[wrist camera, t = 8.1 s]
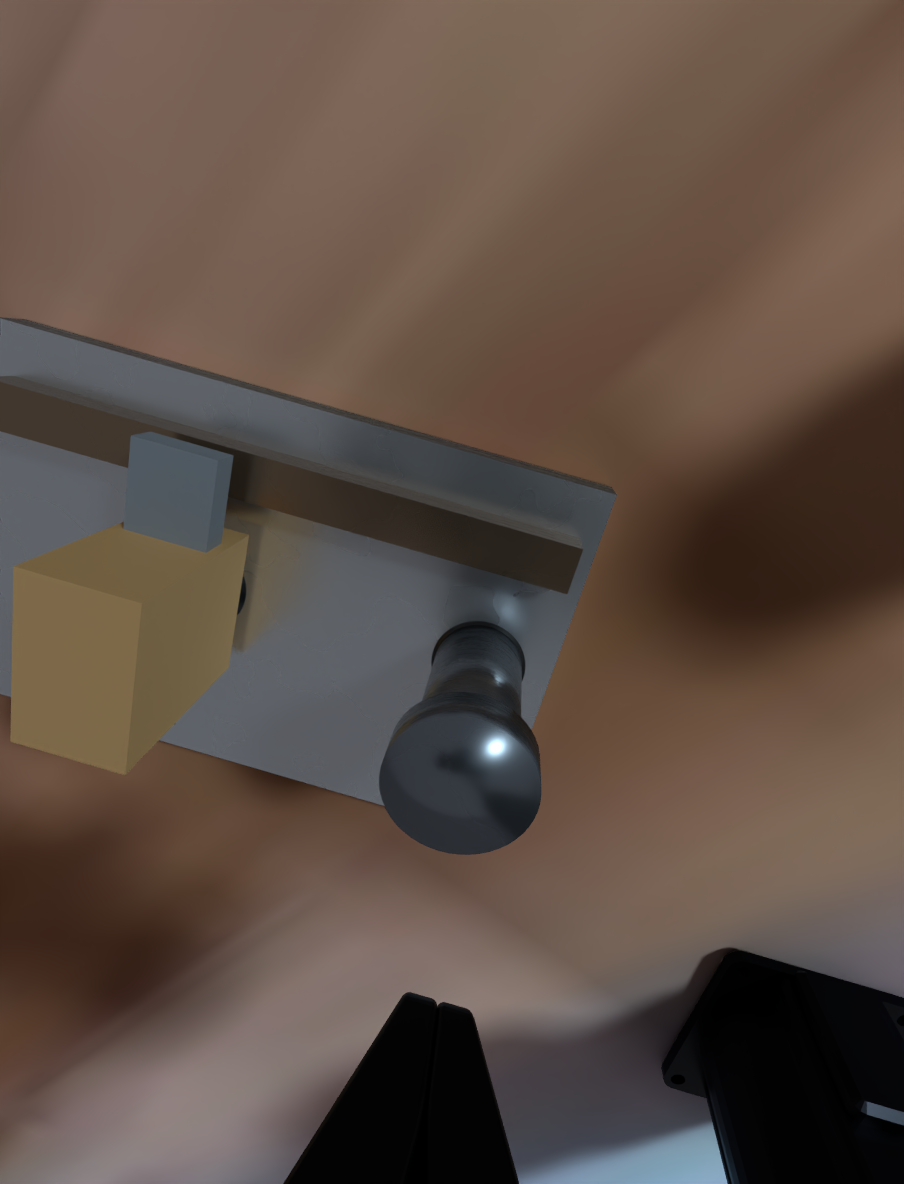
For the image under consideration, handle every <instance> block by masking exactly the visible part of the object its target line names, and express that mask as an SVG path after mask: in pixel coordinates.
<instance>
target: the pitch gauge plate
mask: <svg viewBox="0 0 904 1184" xmlns="http://www.w3.org/2000/svg"><path fill="white" fill-rule="evenodd" d="M146 432H154V433H157V434H161V435H164V436H168V437H171V438H175V439H178V440H182V441H185V442H189V443H192V444H196V445H199V446H203V447H206V448H210V449H213V450H217V451H220V452H224V453H227V454H231V455H234V456H233V463H232V470H231V478H230V485H229V492H228V499H227V506H226V513H225V520H224V528H227V529H230V530H234V531H237V532H241V533H244V534H248V535H249V540H248V546H247V553H246V559H245V566H244V572H243V578H242V585H241V591H240V598H239V604H238V611H237V617H236V623H235V630H234V636H233V643H232V649H231V656H230V662H229V668H228V669H227V670H226V671H225V672H224V673H223V674H222V675H221V676H220V677H219V678H218V679H217V680H216V681H215V682H214V683H213V684H212V685H211V686H210V688H209V689H208V690H207V691H206V692H205V693H204V694H203V695H202V696H201V697H200V698H199V699H198V700H197V701H196V702H195V703H194V704H193V705H192V706H191V707H190V708H189V709H188V710H187V711H186V712H185V714H184V715H183V716H182V717H181V718H180V719H179V720H178V721H177V722H176V723H175V724H174V725H173V726H172V727H171V728H170V729H169V730H168V731H167V732H166V733H165V734H164V735H163V736H162V737H161V738H160V741H163V742H167V743H170V744H174V745H177V746H181V747H184V748H188V749H191V750H194V751H198V752H201V753H205V754H208V755H212V756H215V757H218V758H222V759H225V760H229V761H232V762H236V763H239V764H242V765H246V766H249V767H253V768H256V769H260V770H263V771H266V772H270V773H273V774H277V775H280V776H284V777H287V778H290V779H294V780H297V781H301V782H304V783H308V784H311V785H314V786H318V787H321V788H325V789H328V790H332V791H335V792H338V793H342V794H345V795H349V796H352V797H356V798H359V799H363V800H366V801H369V802H373V803H376V804H380V805H383V806H385V808H386V810H387V812H388V814H389V815H390V817H391V818H392V820H393V821H394V822H395V823H396V825H397V826H398V827H399V828H400V829H401V830H402V831H403V832H405V833H406V834H407V835H409V836H410V837H411V838H413V839H414V840H416V841H418V842H419V843H421V844H423V845H425V846H427V847H430V848H432V849H435V850H438V851H442V852H446V853H452V854H465V855H470V854H480V853H486V852H490V851H493V850H496V849H499V848H501V847H503V846H506V845H508V844H509V843H511V842H512V841H514V840H516V839H517V838H518V837H519V836H520V835H522V834H523V833H524V832H525V831H526V830H527V828H528V827H529V826H530V824H531V823H532V822H533V820H534V818H535V816H536V814H537V812H538V809H539V805H540V800H541V770H540V753H539V747H538V744H537V741H536V738H535V736H534V734H533V732H532V730H531V729H532V727H533V724H534V721H535V719H536V716H537V713H538V710H539V708H540V705H541V702H542V699H543V697H544V694H545V691H546V688H547V686H548V683H549V680H550V677H551V675H552V672H553V669H554V666H555V664H556V661H557V658H558V655H559V653H560V650H561V647H562V644H563V642H564V639H565V636H566V633H567V631H568V628H569V625H570V622H571V620H572V617H573V614H574V611H575V609H576V606H577V603H578V600H579V598H580V595H581V592H582V589H583V587H584V584H585V581H586V578H587V576H588V573H589V570H590V567H591V565H592V562H593V559H594V556H595V554H596V551H597V548H598V545H599V543H600V540H601V537H602V534H603V532H604V529H605V526H606V523H607V521H608V518H609V515H610V512H611V510H612V507H613V504H614V501H615V499H616V496H617V494H616V493H615V491H614V490H613V488H612V487H609V486H605V485H602V484H598V483H595V482H591V481H588V480H584V479H581V478H577V477H574V476H570V475H567V474H563V473H560V472H556V471H553V470H550V469H546V468H543V467H539V466H536V465H532V464H529V463H525V462H522V461H518V460H515V459H511V458H508V457H504V456H501V455H497V454H494V453H490V452H487V451H483V450H480V449H476V448H473V447H469V446H466V445H462V444H459V443H455V442H452V441H448V440H445V439H441V438H438V437H434V436H431V435H427V434H424V433H420V432H417V431H413V430H410V429H406V428H403V427H399V426H396V425H392V424H389V423H385V422H382V421H378V420H375V419H371V418H368V417H364V416H361V415H357V414H354V413H350V412H347V411H343V410H340V409H336V408H333V407H329V406H326V405H322V404H319V403H315V402H312V401H308V400H305V399H301V398H298V397H294V396H291V395H287V394H284V393H280V392H277V391H273V390H270V389H266V388H263V387H259V386H256V385H252V384H249V383H245V382H242V381H239V380H235V379H232V378H228V377H225V376H221V375H218V374H214V373H211V372H207V371H204V370H200V369H197V368H193V367H190V366H186V365H183V364H179V363H176V362H172V361H169V360H165V359H162V358H158V357H155V356H151V355H148V354H144V353H141V352H137V351H134V350H130V349H127V348H123V347H120V346H116V345H113V344H109V343H106V342H102V341H99V340H95V339H92V338H88V337H85V336H81V335H78V334H74V333H71V332H67V331H64V330H60V329H57V328H53V327H50V326H46V325H43V324H39V323H36V322H32V321H29V320H25V319H16V318H3V317H0V694H2V695H6V696H9V697H11V681H12V621H13V566H15V565H18V564H20V563H23V562H25V561H28V560H30V559H33V558H35V557H38V556H40V555H43V554H45V553H47V552H50V551H52V550H55V549H57V548H60V547H62V546H65V545H67V544H70V543H72V542H75V541H77V540H80V539H82V538H85V537H87V536H90V535H92V534H95V533H97V532H99V531H102V530H104V529H107V528H109V527H112V526H114V525H117V524H119V523H122V522H124V514H125V501H126V489H127V477H128V464H129V452H130V439H131V435H135V434H141V433H146Z"/></svg>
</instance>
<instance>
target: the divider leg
mask: <svg viewBox="0 0 904 1184" xmlns="http://www.w3.org/2000/svg"><path fill="white" fill-rule="evenodd" d="M233 456H234V455H231V454H227V453H224V452H220V451H217V450H213V449H210V448H206V447H203V446H199V445H196V444H192V443H189V442H185V441H182V440H178V439H175V438H171V437H168V436H164V435H161V434H157V433H154V432H146V433H141V434H135V435H131V439H130V452H129V464H128V477H127V489H126V501H125V514H124V522H122V523H119V524H117V525H114V526H112V527H109V528H107V529H104V530H102V531H99V532H97V533H95V534H92V535H90V536H87V537H85V538H82V539H80V540H77V541H75V542H72V543H70V544H67V545H65V546H62V547H60V548H57V549H55V550H52V551H50V552H47V553H45V554H43V555H40V556H38V557H35V558H33V559H30V560H28V561H25V562H23V563H20V564H18V565H15V566H13V621H12V681H11V741H10V742H13V743H17V744H20V745H24V746H27V747H31V748H34V749H37V750H41V751H44V752H48V753H51V754H55V755H58V756H61V757H65V758H68V759H72V760H75V761H78V762H82V763H85V764H89V765H92V766H96V767H99V768H102V769H106V770H109V771H113V772H116V773H120V774H123V775H126V774H127V773H128V772H129V771H130V770H131V769H132V768H133V767H134V766H135V764H136V763H137V762H138V761H139V760H140V759H141V758H142V757H143V756H144V755H145V754H146V753H147V752H148V751H149V750H150V749H151V748H152V747H153V746H154V745H155V744H156V743H157V742H158V741H159V740H160V738H161V737H162V736H163V735H164V734H165V733H166V732H167V731H168V730H169V729H170V728H171V727H172V726H173V725H174V724H175V723H176V722H177V721H178V720H179V719H180V718H181V717H182V716H183V715H184V714H185V712H186V711H187V710H188V709H189V708H190V707H191V706H192V705H193V704H194V703H195V702H196V701H197V700H198V699H199V698H200V697H201V696H202V695H203V694H204V693H205V692H206V691H207V690H208V689H209V688H210V686H211V685H212V684H213V683H214V682H215V681H216V680H217V679H218V678H219V677H220V676H221V675H222V674H223V673H224V672H225V671H226V670H227V669H228V668H229V662H230V656H231V649H232V643H233V636H234V630H235V623H236V617H237V611H238V604H239V598H240V591H241V585H242V578H243V572H244V566H245V559H246V553H247V546H248V540H249V535H248V534H244V533H241V532H237V531H234V530H230V529H227V528H224V520H225V513H226V506H227V499H228V492H229V485H230V478H231V470H232V463H233Z"/></svg>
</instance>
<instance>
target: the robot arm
mask: <svg viewBox="0 0 904 1184" xmlns="http://www.w3.org/2000/svg"><path fill="white" fill-rule="evenodd" d="M740 967H741V968H740ZM661 1069H662V1074H663V1079H664V1082H665V1084H666V1085H667V1086H669V1087H671V1088H673V1089H677V1090H680V1091H683V1092H687V1093H690V1094H694V1095H697V1096H700V1097H704V1098H707V1102H708V1106H709V1110H710V1114H711V1118H712V1122H713V1126H714V1130H715V1134H716V1138H717V1142H718V1146H719V1150H720V1154H721V1159H722V1163H723V1167H724V1171H725V1175H726V1179H727V1183H728V1184H904V998H902V997H899V996H895V995H892V994H888V993H885V992H882V991H878V990H875V989H871V988H868V987H864V986H861V985H858V984H854V983H851V982H847V981H844V980H840V979H837V978H834V977H830V976H827V975H823V974H820V973H816V972H813V971H810V970H806V969H803V968H799V967H796V966H792V965H789V964H786V963H782V962H779V961H775V960H772V959H769V958H765V957H762V956H758V955H755V954H751V953H748V952H744V951H734V952H731V953H729V954H727V955H726V956H725V957H724V959H723V960H722V962H721V964H720V966H719V967H718V969H717V971H716V972H715V974H714V976H713V978H712V979H711V981H710V983H709V984H708V986H707V988H706V990H705V991H704V993H703V995H702V997H701V998H700V1000H699V1002H698V1003H697V1005H696V1007H695V1009H694V1010H693V1012H692V1014H691V1015H690V1017H689V1019H688V1021H687V1022H686V1024H685V1026H684V1028H683V1029H682V1031H681V1033H680V1034H679V1036H678V1038H677V1040H676V1041H675V1043H674V1045H673V1046H672V1048H671V1050H670V1052H669V1053H668V1055H667V1057H666V1059H665V1060H664V1062H663V1064H662V1067H661ZM284 1184H519V1181H518V1178H517V1174H516V1170H515V1166H514V1163H513V1159H512V1155H511V1152H510V1148H509V1144H508V1141H507V1137H506V1133H505V1130H504V1126H503V1122H502V1119H501V1115H500V1111H499V1108H498V1104H497V1100H496V1097H495V1093H494V1089H493V1085H492V1082H491V1078H490V1074H489V1071H488V1067H487V1063H486V1060H485V1056H484V1052H483V1049H482V1045H481V1041H480V1038H479V1034H478V1030H477V1027H476V1023H475V1019H474V1017H473V1014H472V1013H471V1012H470V1010H468V1009H466V1008H463V1007H459V1006H456V1005H452V1004H449V1003H446V1002H442V1003H440V1004H439V1005H438V1006H437V1004H436V1002H435V1000H433V999H432V998H428V997H425V996H421V995H418V994H415V993H411V992H408V993H405V994H404V995H403V996H402V998H401V999H400V1001H399V1002H398V1004H397V1005H396V1007H395V1008H394V1010H393V1012H392V1013H391V1015H390V1016H389V1018H388V1019H387V1021H386V1023H385V1024H384V1026H383V1027H382V1029H381V1031H380V1032H379V1034H378V1035H377V1037H376V1038H375V1040H374V1042H373V1043H372V1045H371V1046H370V1048H369V1049H368V1051H367V1053H366V1054H365V1056H364V1057H363V1059H362V1060H361V1062H360V1064H359V1065H358V1067H357V1068H356V1070H355V1072H354V1073H353V1075H352V1076H351V1078H350V1079H349V1081H348V1083H347V1084H346V1086H345V1087H344V1089H343V1090H342V1092H341V1094H340V1095H339V1097H338V1098H337V1100H336V1101H335V1103H334V1105H333V1106H332V1108H331V1109H330V1111H329V1113H328V1114H327V1116H326V1117H325V1119H324V1120H323V1122H322V1124H321V1125H320V1127H319V1128H318V1130H317V1131H316V1133H315V1135H314V1136H313V1138H312V1139H311V1141H310V1143H309V1144H308V1146H307V1147H306V1149H305V1150H304V1152H303V1154H302V1155H301V1157H300V1158H299V1160H298V1161H297V1163H296V1165H295V1166H294V1168H293V1169H292V1171H291V1172H290V1174H289V1176H288V1177H287V1179H286V1180H285V1182H284Z"/></svg>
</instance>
